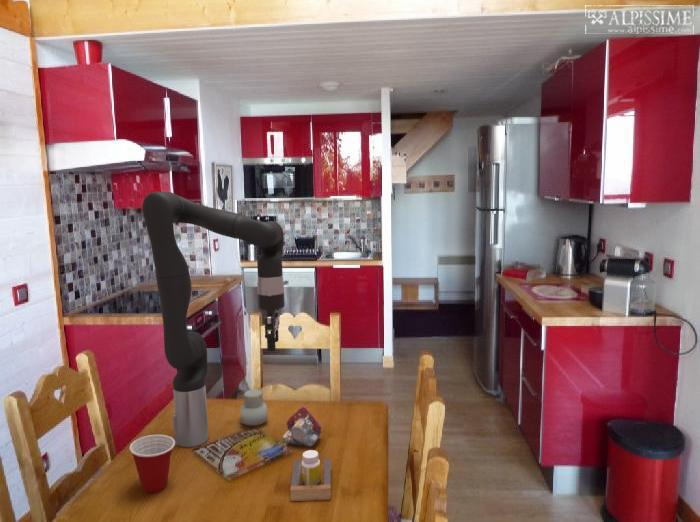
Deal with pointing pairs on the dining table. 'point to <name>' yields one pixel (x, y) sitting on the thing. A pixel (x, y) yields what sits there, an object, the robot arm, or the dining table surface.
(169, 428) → the dining table surface
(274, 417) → the dining table surface
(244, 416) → the air freshener
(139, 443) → the plastic cup
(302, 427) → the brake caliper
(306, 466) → the supplement bottle
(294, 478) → the frame
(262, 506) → the dining table surface
